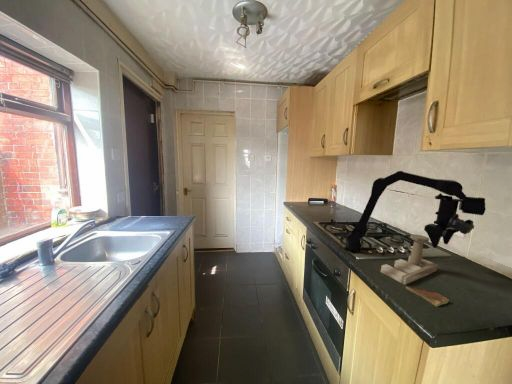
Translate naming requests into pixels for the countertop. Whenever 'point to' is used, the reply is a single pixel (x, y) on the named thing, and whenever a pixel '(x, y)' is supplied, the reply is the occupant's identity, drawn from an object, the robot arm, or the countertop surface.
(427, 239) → the handle
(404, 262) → the notched rail
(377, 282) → the countertop surface
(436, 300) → the shard
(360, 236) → the robot arm
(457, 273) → the countertop surface
